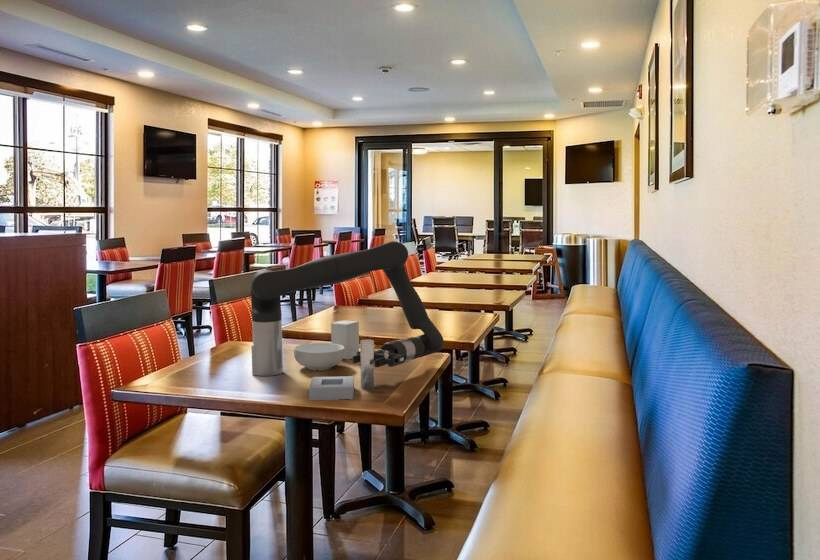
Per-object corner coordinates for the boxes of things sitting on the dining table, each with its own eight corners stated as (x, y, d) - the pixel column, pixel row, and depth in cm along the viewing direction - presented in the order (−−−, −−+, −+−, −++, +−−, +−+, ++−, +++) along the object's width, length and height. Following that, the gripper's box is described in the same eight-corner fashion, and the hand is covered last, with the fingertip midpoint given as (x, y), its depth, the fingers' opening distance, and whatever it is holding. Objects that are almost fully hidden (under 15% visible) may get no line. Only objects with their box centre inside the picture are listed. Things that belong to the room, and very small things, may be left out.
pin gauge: (360, 389, 190) (360, 342, 188) (360, 385, 194) (360, 339, 192) (374, 389, 190) (374, 342, 189) (374, 385, 194) (373, 339, 193)
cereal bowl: (349, 372, 211) (348, 350, 210) (297, 375, 206) (297, 353, 206) (339, 360, 227) (339, 340, 226) (291, 363, 223) (291, 343, 222)
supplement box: (360, 356, 234) (359, 321, 233) (347, 360, 228) (346, 324, 227) (343, 353, 238) (343, 319, 237) (330, 357, 232) (330, 322, 231)
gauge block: (309, 400, 179) (308, 387, 179) (312, 388, 191) (312, 376, 191) (352, 399, 180) (352, 387, 179) (353, 387, 192) (353, 376, 191)
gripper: (380, 337, 207) (346, 346, 194) (416, 343, 198) (383, 352, 185) (380, 361, 208) (346, 370, 195) (416, 367, 199) (383, 378, 186)
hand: (364, 361), depth 190 cm, fingers open, 8 cm apart
